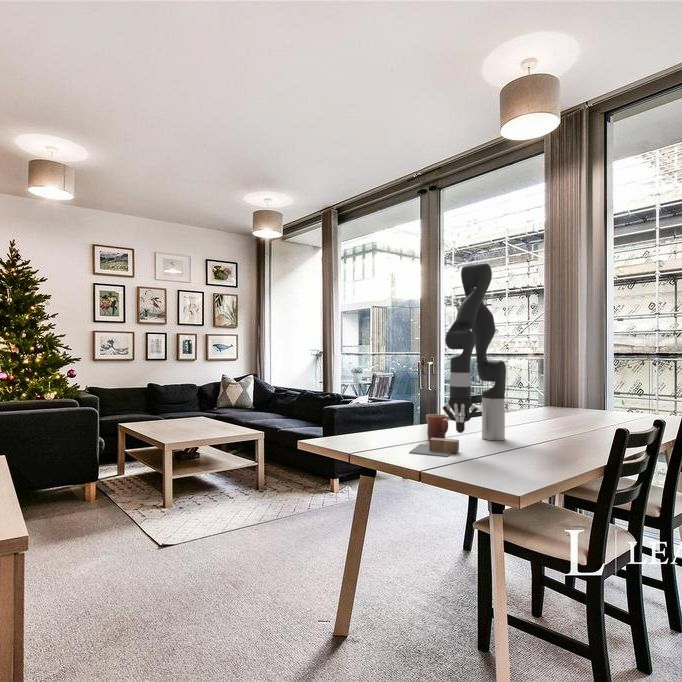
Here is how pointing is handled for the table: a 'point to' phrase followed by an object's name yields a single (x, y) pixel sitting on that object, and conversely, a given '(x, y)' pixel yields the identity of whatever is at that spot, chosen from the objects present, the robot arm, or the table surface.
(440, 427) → the mug
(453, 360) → the robot arm
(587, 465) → the table surface
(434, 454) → the mat
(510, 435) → the table surface
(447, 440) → the walnut block
